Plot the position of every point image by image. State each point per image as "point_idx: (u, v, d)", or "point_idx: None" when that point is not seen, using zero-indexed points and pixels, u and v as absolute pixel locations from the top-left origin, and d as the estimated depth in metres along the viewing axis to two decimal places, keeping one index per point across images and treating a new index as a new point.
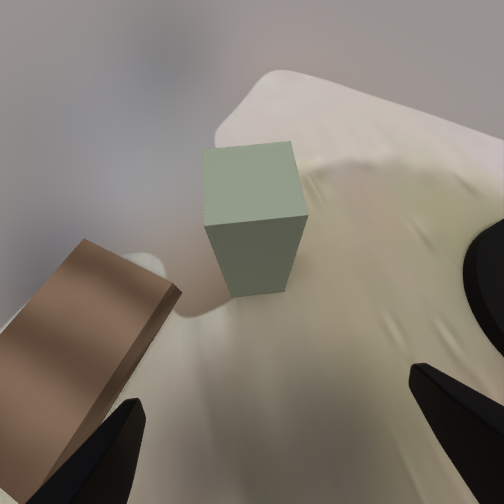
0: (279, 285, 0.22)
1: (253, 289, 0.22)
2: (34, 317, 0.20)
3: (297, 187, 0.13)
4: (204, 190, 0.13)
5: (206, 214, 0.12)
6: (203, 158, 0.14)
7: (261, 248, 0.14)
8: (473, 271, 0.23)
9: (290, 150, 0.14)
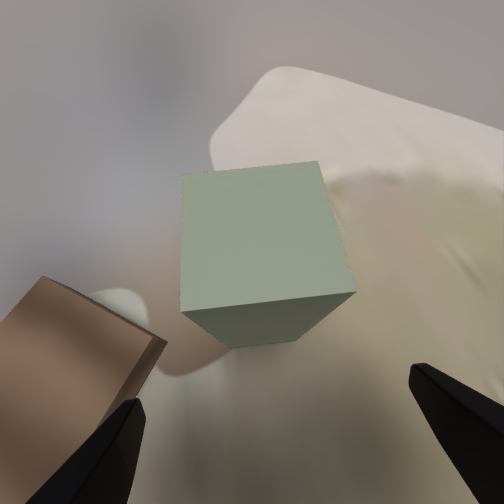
0: (291, 338, 0.17)
1: (257, 342, 0.17)
2: None
3: (335, 238, 0.08)
4: (183, 244, 0.08)
5: (184, 289, 0.07)
6: (183, 189, 0.09)
7: (273, 319, 0.10)
8: None
9: (318, 175, 0.09)
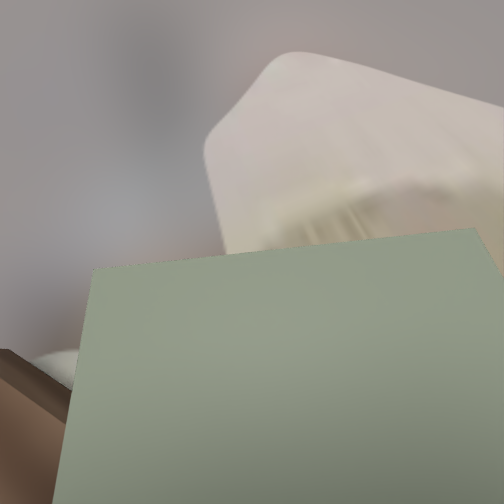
0: None
1: None
2: None
3: None
4: None
5: None
6: (89, 323, 0.03)
7: None
8: None
9: (493, 279, 0.03)
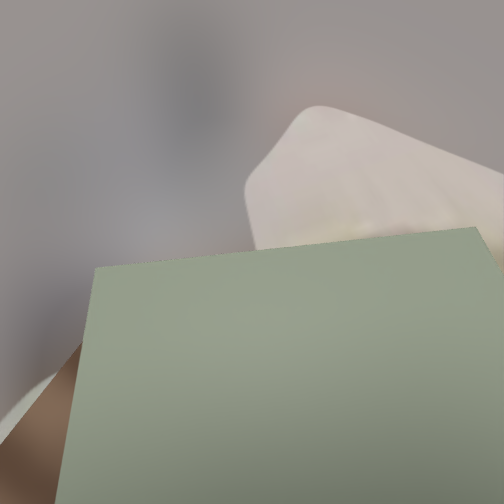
0: None
1: None
2: (25, 444, 0.16)
3: None
4: None
5: None
6: (92, 321, 0.03)
7: None
8: None
9: (494, 278, 0.03)
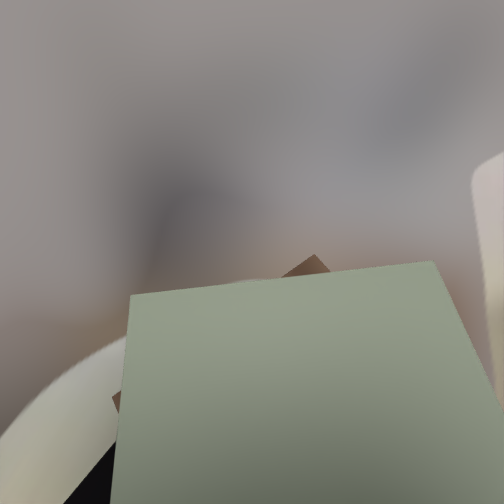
0: None
1: None
2: None
3: None
4: None
5: None
6: (130, 338, 0.04)
7: None
8: None
9: (445, 303, 0.04)
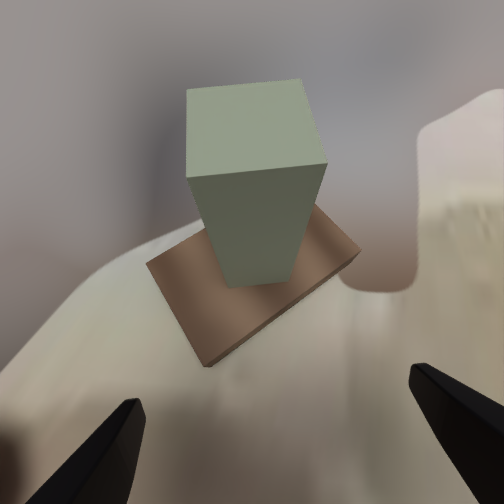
0: (283, 273, 0.18)
1: (253, 278, 0.19)
2: None
3: (312, 130, 0.09)
4: (188, 135, 0.10)
5: (190, 163, 0.09)
6: (188, 98, 0.10)
7: (264, 217, 0.11)
8: None
9: (300, 88, 0.11)
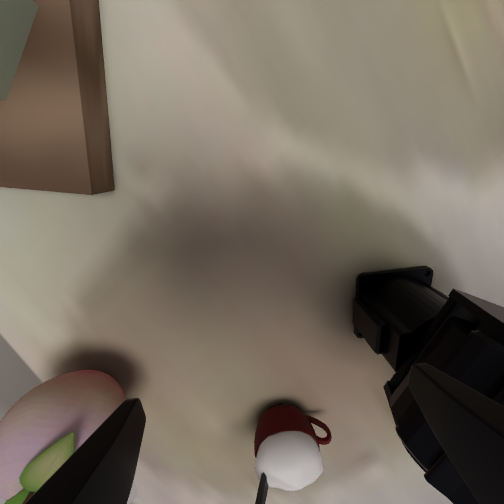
0: None
1: None
2: None
3: None
4: None
5: None
6: None
7: None
8: None
9: None
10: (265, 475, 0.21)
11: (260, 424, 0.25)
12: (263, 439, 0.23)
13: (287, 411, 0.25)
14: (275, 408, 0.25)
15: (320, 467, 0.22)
